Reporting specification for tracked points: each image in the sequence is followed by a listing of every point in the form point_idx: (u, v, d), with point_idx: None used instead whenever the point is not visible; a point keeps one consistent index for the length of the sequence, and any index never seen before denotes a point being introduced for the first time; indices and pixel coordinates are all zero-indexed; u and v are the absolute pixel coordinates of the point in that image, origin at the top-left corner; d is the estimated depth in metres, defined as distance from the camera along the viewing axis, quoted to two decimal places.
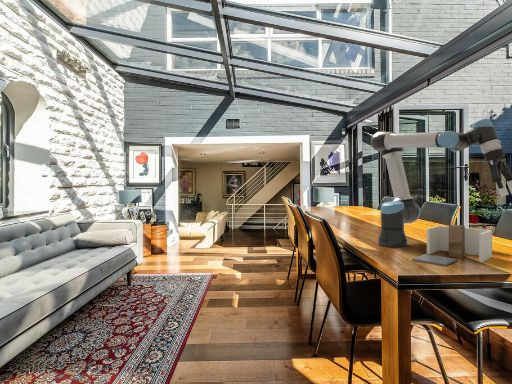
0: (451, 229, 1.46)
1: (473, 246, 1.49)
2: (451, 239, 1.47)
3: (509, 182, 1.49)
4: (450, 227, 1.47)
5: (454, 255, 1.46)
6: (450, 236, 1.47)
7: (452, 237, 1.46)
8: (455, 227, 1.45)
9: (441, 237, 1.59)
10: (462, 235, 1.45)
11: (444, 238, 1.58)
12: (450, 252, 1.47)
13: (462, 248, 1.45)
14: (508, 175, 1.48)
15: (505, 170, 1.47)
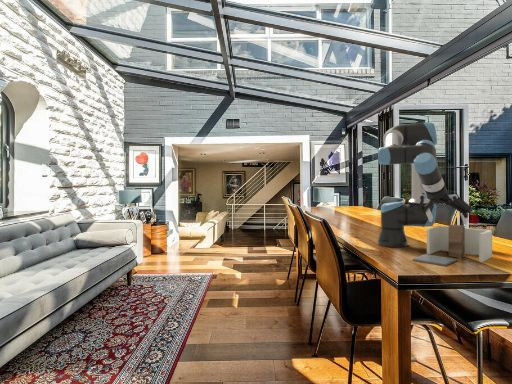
0: (451, 229, 1.46)
1: (473, 246, 1.49)
2: (451, 239, 1.47)
3: None
4: (450, 227, 1.47)
5: (454, 255, 1.46)
6: (450, 236, 1.47)
7: (452, 237, 1.46)
8: (455, 227, 1.45)
9: (441, 237, 1.59)
10: (462, 235, 1.45)
11: (444, 238, 1.58)
12: (450, 252, 1.47)
13: (462, 248, 1.45)
14: None
15: None
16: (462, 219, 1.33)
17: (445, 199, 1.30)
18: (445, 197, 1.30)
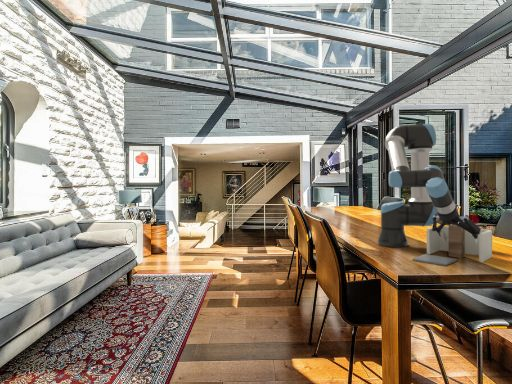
0: (451, 229, 1.46)
1: (473, 246, 1.49)
2: (451, 239, 1.47)
3: None
4: (450, 227, 1.47)
5: (454, 255, 1.46)
6: (450, 236, 1.47)
7: (452, 237, 1.46)
8: (455, 227, 1.45)
9: (441, 237, 1.59)
10: (462, 235, 1.45)
11: None
12: (450, 252, 1.47)
13: (462, 248, 1.45)
14: None
15: None
16: (472, 240, 1.40)
17: (456, 220, 1.38)
18: (456, 218, 1.37)
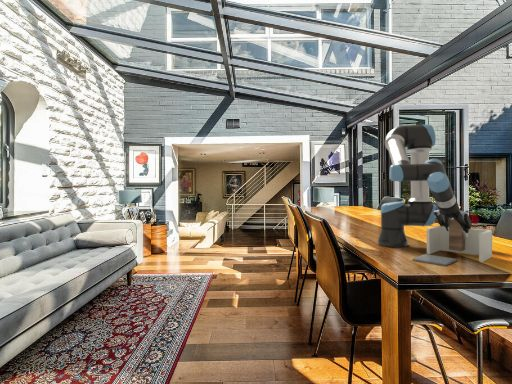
0: (452, 223, 1.46)
1: (473, 246, 1.49)
2: (452, 233, 1.46)
3: None
4: (451, 221, 1.46)
5: (454, 249, 1.46)
6: (451, 230, 1.47)
7: (452, 230, 1.46)
8: (456, 221, 1.45)
9: (441, 237, 1.59)
10: None
11: (444, 238, 1.58)
12: (450, 246, 1.47)
13: (462, 242, 1.45)
14: None
15: None
16: None
17: (456, 214, 1.38)
18: (457, 212, 1.37)
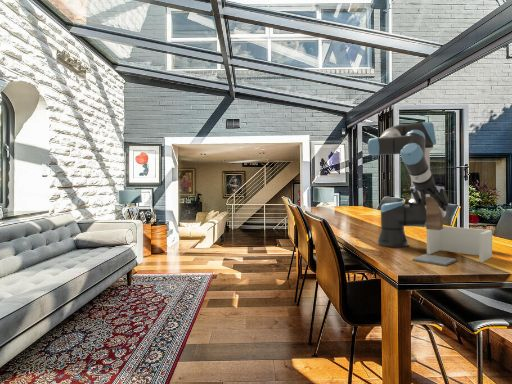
0: (429, 201, 1.38)
1: (473, 246, 1.49)
2: (429, 211, 1.39)
3: None
4: (428, 198, 1.39)
5: (432, 228, 1.38)
6: (428, 208, 1.39)
7: (430, 208, 1.38)
8: (433, 198, 1.37)
9: (441, 237, 1.59)
10: None
11: (444, 238, 1.58)
12: (428, 225, 1.39)
13: (440, 220, 1.37)
14: None
15: None
16: (441, 212, 1.37)
17: (432, 189, 1.31)
18: (433, 187, 1.30)
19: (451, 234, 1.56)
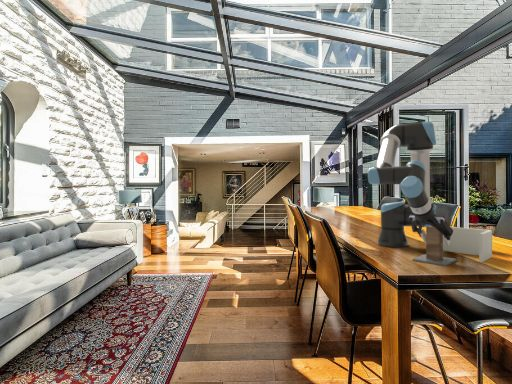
0: (429, 231, 1.39)
1: (473, 246, 1.49)
2: (429, 241, 1.39)
3: None
4: (428, 228, 1.39)
5: (432, 258, 1.38)
6: (428, 238, 1.39)
7: (430, 238, 1.39)
8: (433, 228, 1.38)
9: None
10: (440, 236, 1.37)
11: None
12: (428, 254, 1.40)
13: (440, 250, 1.38)
14: None
15: None
16: (445, 241, 1.36)
17: (432, 220, 1.31)
18: (433, 219, 1.30)
19: None
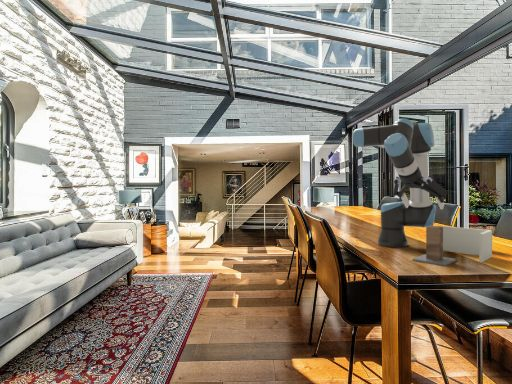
0: (429, 231, 1.39)
1: (473, 246, 1.49)
2: (429, 241, 1.39)
3: None
4: (428, 228, 1.39)
5: (432, 258, 1.38)
6: (428, 238, 1.39)
7: (430, 238, 1.39)
8: (433, 228, 1.38)
9: None
10: (440, 236, 1.37)
11: (444, 238, 1.58)
12: (428, 254, 1.40)
13: (440, 250, 1.38)
14: None
15: None
16: (438, 204, 1.25)
17: (419, 183, 1.22)
18: (419, 181, 1.21)
19: (451, 234, 1.56)
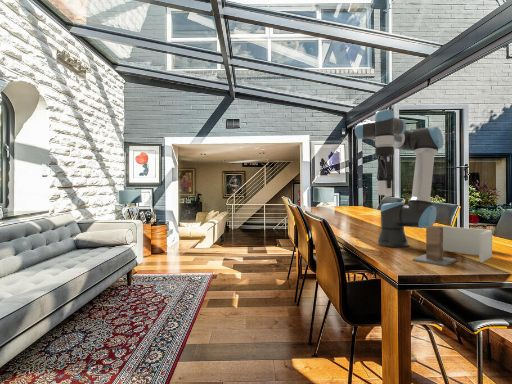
0: (429, 231, 1.39)
1: (473, 246, 1.49)
2: (429, 241, 1.39)
3: None
4: (428, 228, 1.39)
5: (432, 258, 1.38)
6: (428, 238, 1.39)
7: (430, 238, 1.39)
8: (433, 228, 1.38)
9: None
10: (440, 236, 1.37)
11: (444, 238, 1.58)
12: (428, 254, 1.40)
13: (440, 250, 1.38)
14: None
15: None
16: (384, 188, 1.33)
17: (383, 160, 1.36)
18: (383, 158, 1.36)
19: (451, 234, 1.56)
